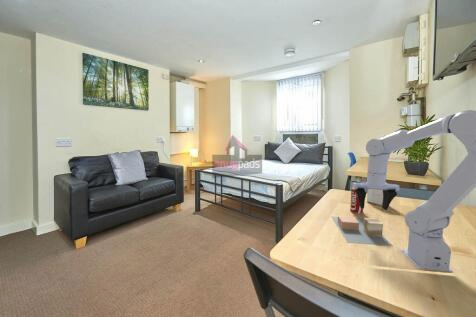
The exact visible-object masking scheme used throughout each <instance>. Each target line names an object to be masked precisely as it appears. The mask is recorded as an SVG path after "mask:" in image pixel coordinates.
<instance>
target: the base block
mask: <svg viewBox="0 0 476 317" xmlns="http://www.w3.org/2000/svg"><path fill="white" fill-rule="evenodd" d="M337 217H338V224H339V225H340V227H341V229H347V230H359V222H358V221H357V220H356V219H355V218H356V217H354V216H351V215H350V216H349V215H338V216H337Z"/></svg>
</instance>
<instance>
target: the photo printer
mask: <svg viewBox="0 0 476 317" xmlns="http://www.w3.org/2000/svg"><path fill="white" fill-rule="evenodd" d="M386 184H389V183H388V182H386ZM366 193H367V194H366V202H368V203H371V204H375V205H377V206H381V207H382V203H383V190H375V189H367V192H366Z"/></svg>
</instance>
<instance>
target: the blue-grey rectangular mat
mask: <svg viewBox="0 0 476 317" xmlns="http://www.w3.org/2000/svg"><path fill="white" fill-rule="evenodd" d="M331 218H332V220H333V222H334V223H335V225H336V226H337V228H338V230H339V231H340V233H341V234H342V236H343V237H344V239H345V241H346V242H347V243H349V244H363V245H373V246H374V245H375V246H376V245H377V246H390V247H393V244H392V243H391V242H390V241H389V240H388V239H387V238H386V237H385V236H384V234H382V237H375V236H368V235H367V234H366V233H365V232H364V230H363V228H364V218H365V217H362V218H361V217H354V218H355V219H356V220H357V221H358V222H359V230H347V229H341V227H340V225H339V224H338V216H331Z"/></svg>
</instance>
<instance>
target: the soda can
mask: <svg viewBox="0 0 476 317" xmlns="http://www.w3.org/2000/svg"><path fill="white" fill-rule="evenodd" d="M349 210H350V212H351V213H353V214H363V213H364V209H362V208H361V207H360V203H359V199H358V195H357V193H356V191H355V189H354V188H353V186H352V188H351V190H350V208H349Z"/></svg>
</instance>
